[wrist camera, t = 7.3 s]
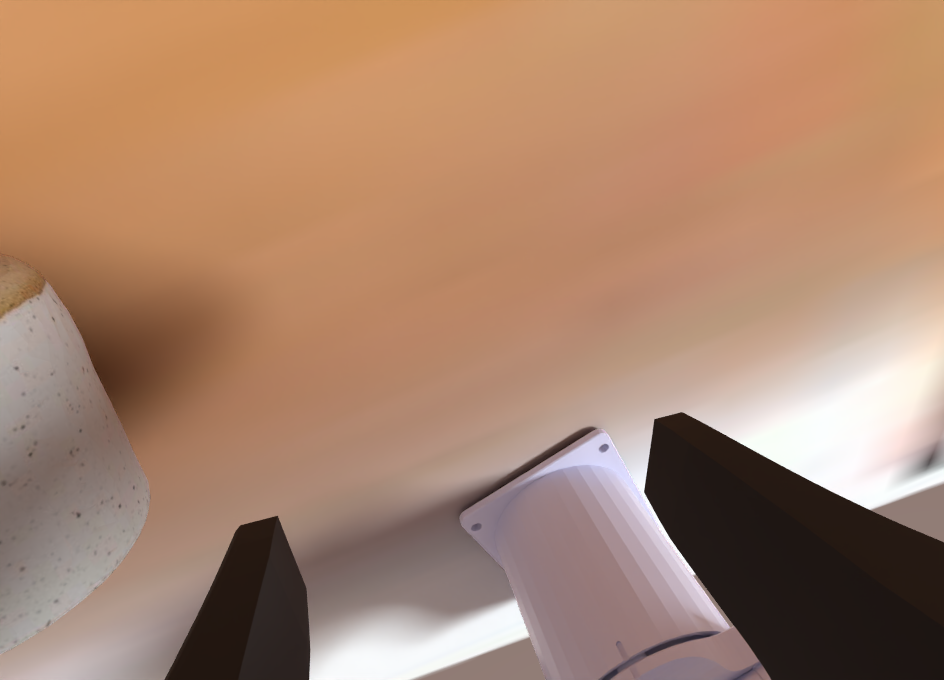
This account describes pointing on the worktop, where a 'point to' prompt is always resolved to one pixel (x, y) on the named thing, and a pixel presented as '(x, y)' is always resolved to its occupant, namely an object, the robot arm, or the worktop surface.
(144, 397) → the worktop surface
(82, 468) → the ceramic mug
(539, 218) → the worktop surface
